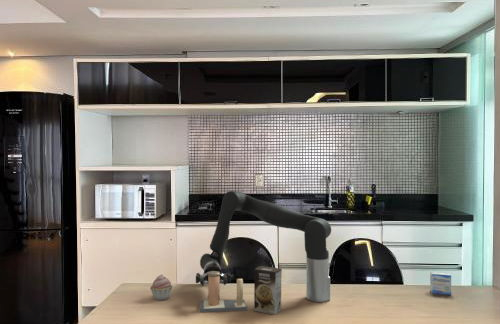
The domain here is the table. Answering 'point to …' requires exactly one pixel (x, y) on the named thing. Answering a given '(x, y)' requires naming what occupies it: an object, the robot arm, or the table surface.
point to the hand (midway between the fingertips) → (213, 282)
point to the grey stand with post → (227, 302)
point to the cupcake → (161, 288)
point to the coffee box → (267, 289)
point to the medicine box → (440, 283)
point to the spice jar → (213, 288)
